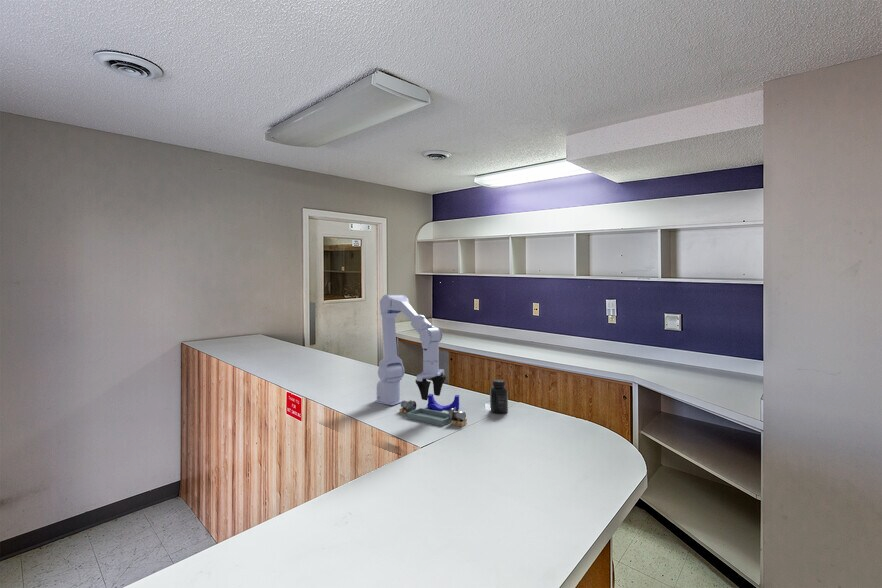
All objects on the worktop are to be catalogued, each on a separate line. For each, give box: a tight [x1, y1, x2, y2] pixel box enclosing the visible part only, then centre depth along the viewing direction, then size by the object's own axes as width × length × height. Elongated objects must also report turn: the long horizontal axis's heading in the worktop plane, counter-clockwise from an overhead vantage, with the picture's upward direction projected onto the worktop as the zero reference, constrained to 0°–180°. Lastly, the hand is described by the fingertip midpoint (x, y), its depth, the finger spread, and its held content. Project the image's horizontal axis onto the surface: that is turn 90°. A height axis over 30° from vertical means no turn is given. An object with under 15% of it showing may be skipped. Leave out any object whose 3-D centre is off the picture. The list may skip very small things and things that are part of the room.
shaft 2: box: [448, 408, 468, 428], centre depth 145 cm, size 5×4×5 cm
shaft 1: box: [399, 399, 417, 416], centre depth 158 cm, size 5×4×5 cm
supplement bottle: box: [489, 379, 509, 415], centre depth 160 cm, size 7×7×12 cm
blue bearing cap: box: [426, 393, 460, 412], centre depth 162 cm, size 12×4×6 cm, turn 81°
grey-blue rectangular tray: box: [406, 407, 452, 427], centre depth 151 cm, size 16×8×2 cm, turn 55°
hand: (430, 397), depth 151 cm, fingers open, 7 cm apart
